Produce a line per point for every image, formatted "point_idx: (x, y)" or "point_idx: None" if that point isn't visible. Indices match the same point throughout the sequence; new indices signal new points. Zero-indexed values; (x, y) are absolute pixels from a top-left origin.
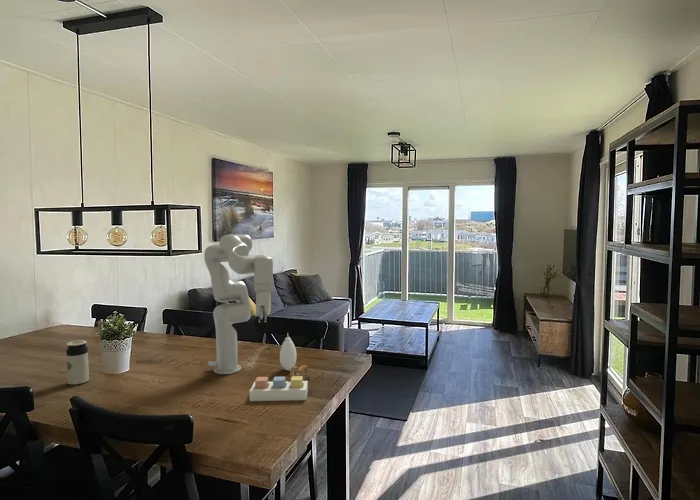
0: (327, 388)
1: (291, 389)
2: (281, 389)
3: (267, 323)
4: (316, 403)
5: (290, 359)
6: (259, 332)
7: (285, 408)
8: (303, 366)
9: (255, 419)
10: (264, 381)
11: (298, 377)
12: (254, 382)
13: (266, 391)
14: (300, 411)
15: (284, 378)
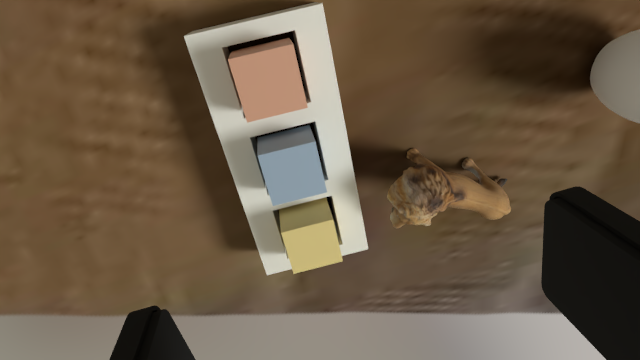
0: (384, 280)
1: (258, 224)
2: (248, 185)
3: (581, 297)
4: (246, 288)
5: (619, 105)
6: (136, 314)
7: (170, 211)
8: (489, 212)
9: (25, 142)
10: (244, 110)
11: (322, 251)
12: (312, 8)
13: (215, 123)
14: (164, 265)
15: (298, 198)
